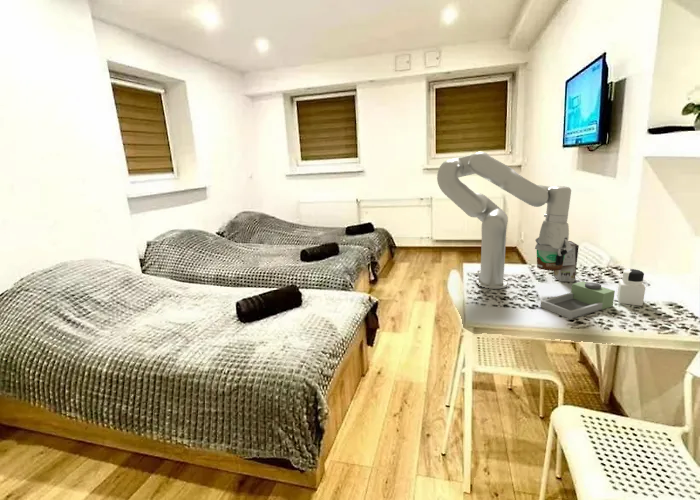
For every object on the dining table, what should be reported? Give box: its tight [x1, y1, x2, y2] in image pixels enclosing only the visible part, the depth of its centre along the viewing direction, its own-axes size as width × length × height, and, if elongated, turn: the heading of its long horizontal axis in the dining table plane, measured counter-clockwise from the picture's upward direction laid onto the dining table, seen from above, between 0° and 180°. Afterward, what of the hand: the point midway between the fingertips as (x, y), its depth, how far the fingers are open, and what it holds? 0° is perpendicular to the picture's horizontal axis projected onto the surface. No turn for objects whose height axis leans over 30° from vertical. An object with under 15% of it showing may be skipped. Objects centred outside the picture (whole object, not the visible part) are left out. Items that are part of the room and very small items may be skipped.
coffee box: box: [552, 240, 580, 283], centre depth 164 cm, size 9×6×16 cm
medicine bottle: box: [616, 268, 646, 307], centre depth 137 cm, size 7×7×12 cm
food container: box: [534, 243, 566, 272], centre depth 149 cm, size 12×6×10 cm, turn 88°
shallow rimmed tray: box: [540, 281, 616, 320], centre depth 136 cm, size 12×22×7 cm, turn 114°
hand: (550, 262), depth 151 cm, fingers closed on food container, 6 cm apart
